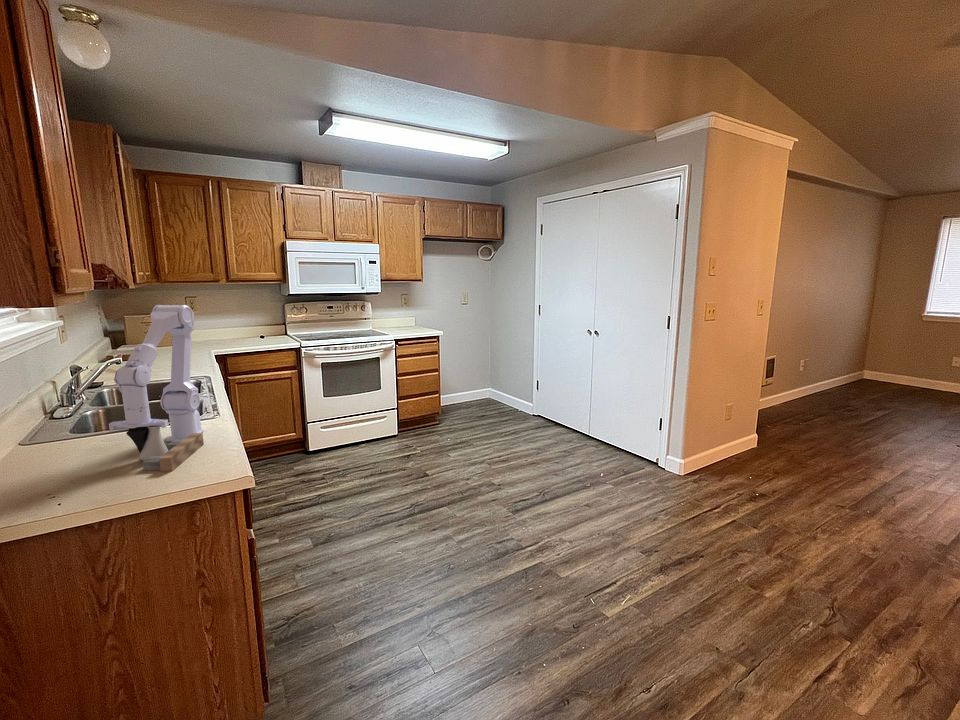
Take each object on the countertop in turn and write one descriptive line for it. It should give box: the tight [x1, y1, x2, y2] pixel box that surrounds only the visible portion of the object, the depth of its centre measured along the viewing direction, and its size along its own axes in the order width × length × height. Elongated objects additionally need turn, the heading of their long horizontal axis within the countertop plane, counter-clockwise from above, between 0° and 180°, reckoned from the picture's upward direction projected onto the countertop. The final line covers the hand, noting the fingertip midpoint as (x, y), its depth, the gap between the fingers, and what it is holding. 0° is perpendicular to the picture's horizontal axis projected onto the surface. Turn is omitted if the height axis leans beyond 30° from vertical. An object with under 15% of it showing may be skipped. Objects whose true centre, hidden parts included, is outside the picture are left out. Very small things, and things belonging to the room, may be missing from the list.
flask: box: [138, 426, 168, 462], centre depth 131 cm, size 7×7×10 cm
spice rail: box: [142, 432, 205, 473], centre depth 133 cm, size 20×8×4 cm, turn 10°
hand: (142, 451), depth 131 cm, fingers closed
